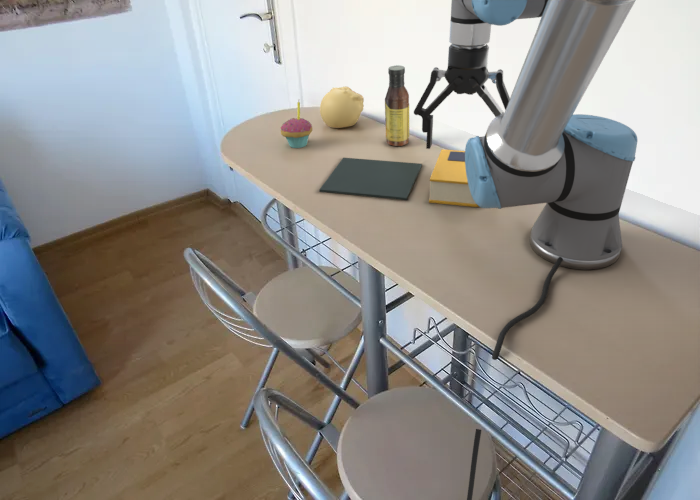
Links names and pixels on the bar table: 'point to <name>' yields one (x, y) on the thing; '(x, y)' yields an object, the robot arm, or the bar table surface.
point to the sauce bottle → (397, 108)
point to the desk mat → (372, 178)
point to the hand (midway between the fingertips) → (460, 148)
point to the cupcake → (296, 130)
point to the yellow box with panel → (450, 180)
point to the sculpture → (341, 107)
